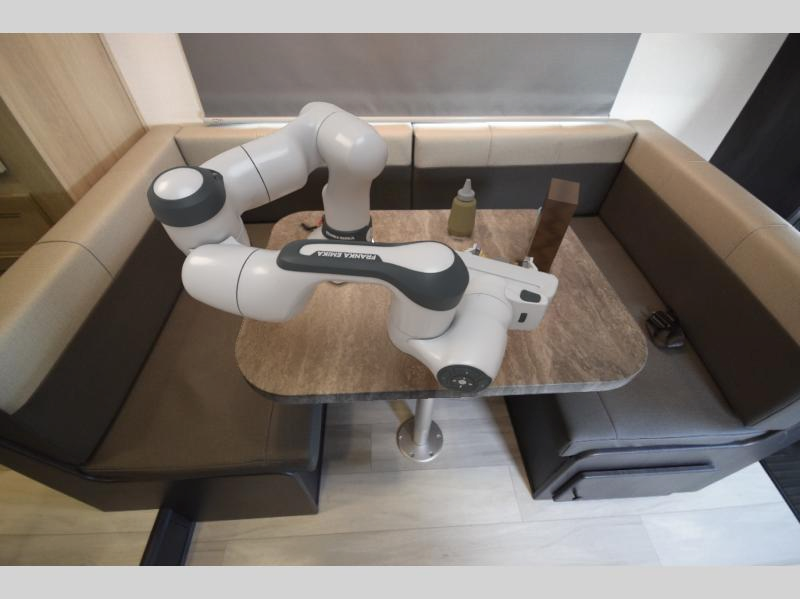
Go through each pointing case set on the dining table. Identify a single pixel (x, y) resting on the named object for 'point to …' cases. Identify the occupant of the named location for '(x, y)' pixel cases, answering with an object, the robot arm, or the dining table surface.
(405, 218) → the dining table surface
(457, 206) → the squeeze bottle
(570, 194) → the stand
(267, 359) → the dining table surface
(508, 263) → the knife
